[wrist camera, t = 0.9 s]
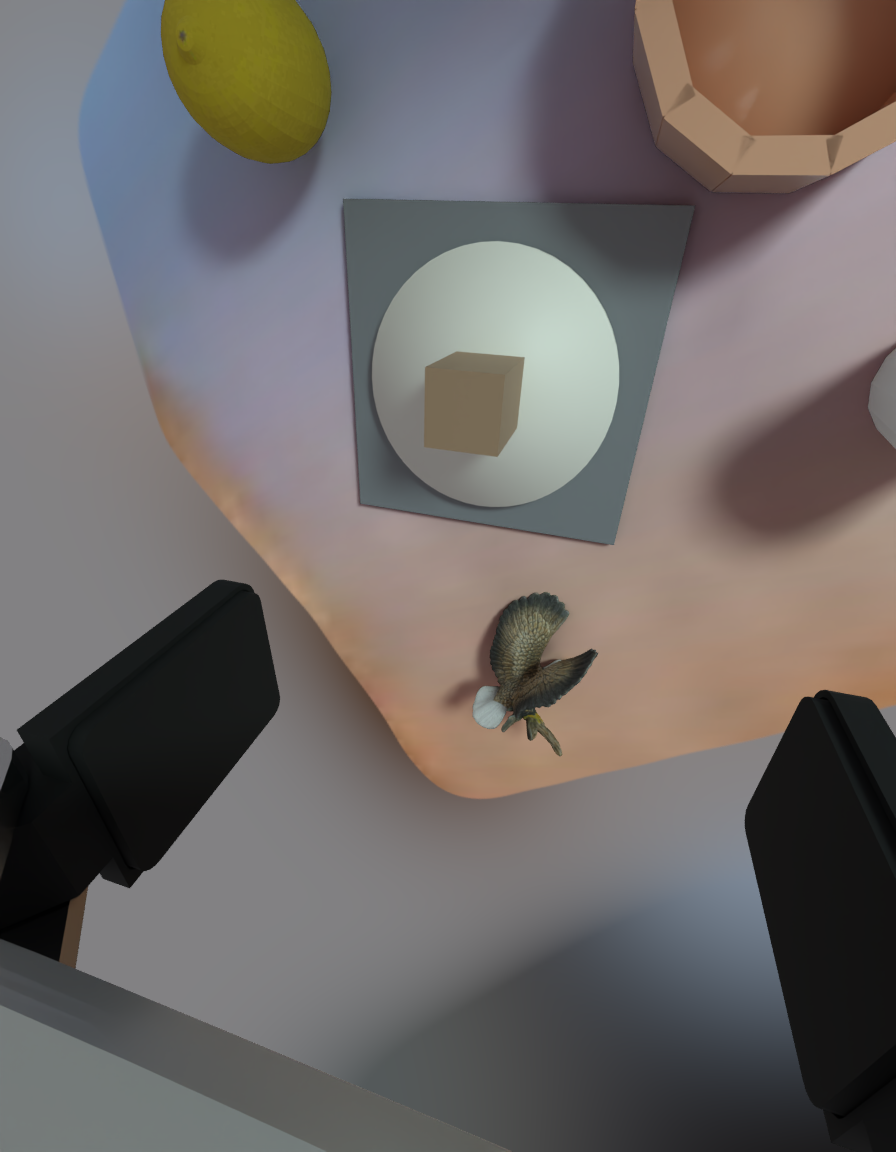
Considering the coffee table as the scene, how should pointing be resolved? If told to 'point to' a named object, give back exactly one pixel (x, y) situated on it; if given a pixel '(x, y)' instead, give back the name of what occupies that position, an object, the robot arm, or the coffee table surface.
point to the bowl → (767, 87)
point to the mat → (598, 255)
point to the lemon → (249, 74)
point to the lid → (495, 373)
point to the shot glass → (885, 399)
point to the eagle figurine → (528, 667)
